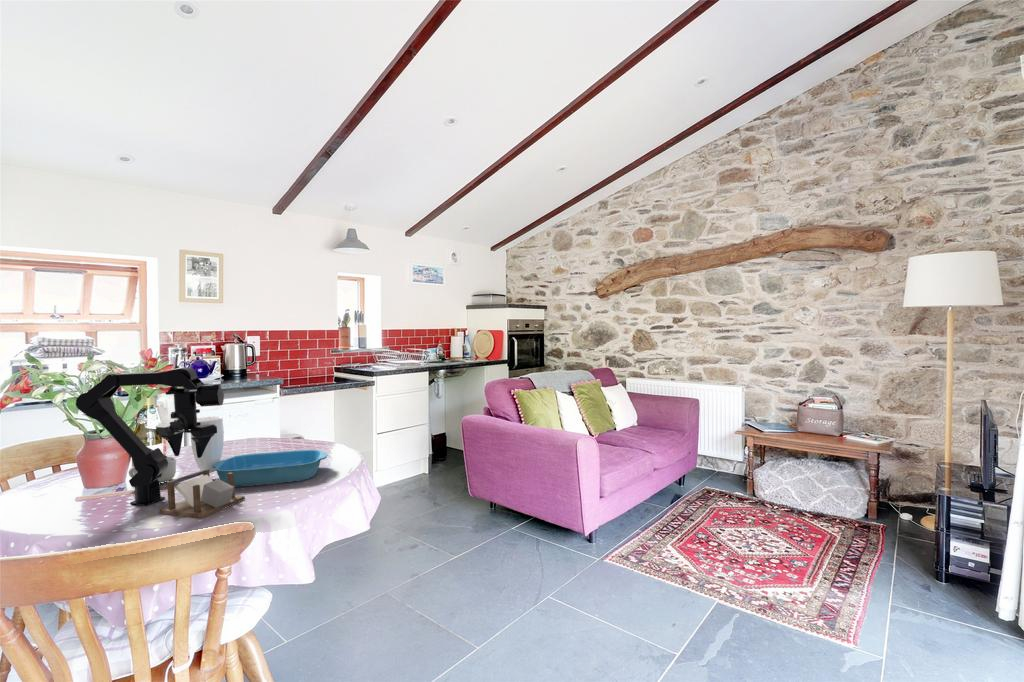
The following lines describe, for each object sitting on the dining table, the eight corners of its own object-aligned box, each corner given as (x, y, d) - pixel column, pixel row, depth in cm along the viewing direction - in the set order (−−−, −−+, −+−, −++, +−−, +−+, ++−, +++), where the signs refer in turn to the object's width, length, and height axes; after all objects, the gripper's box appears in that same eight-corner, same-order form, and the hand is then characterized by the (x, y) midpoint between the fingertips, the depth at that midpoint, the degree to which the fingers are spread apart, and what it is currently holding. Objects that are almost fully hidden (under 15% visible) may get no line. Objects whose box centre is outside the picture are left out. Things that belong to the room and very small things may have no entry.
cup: (188, 480, 176) (185, 419, 175) (221, 473, 183) (219, 414, 182) (196, 486, 168) (192, 423, 167) (230, 479, 175) (227, 418, 174)
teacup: (171, 475, 181) (170, 454, 181) (182, 481, 174) (180, 458, 174) (124, 486, 170) (122, 463, 170) (133, 492, 164) (132, 468, 163)
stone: (204, 484, 145) (219, 492, 144) (218, 479, 150) (233, 486, 149) (200, 500, 146) (216, 508, 145) (215, 494, 151) (230, 501, 149)
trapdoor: (175, 487, 145) (177, 484, 145) (205, 477, 155) (207, 474, 155) (192, 507, 144) (194, 504, 144) (221, 495, 154) (223, 492, 153)
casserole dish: (330, 464, 192) (330, 445, 191) (325, 481, 170) (324, 461, 170) (224, 474, 182) (223, 455, 182) (203, 494, 161) (202, 472, 160)
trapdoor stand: (159, 513, 144) (157, 482, 144) (204, 495, 159) (203, 467, 158) (202, 518, 140) (200, 486, 139) (244, 499, 154) (243, 470, 154)
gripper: (137, 411, 151) (140, 462, 152) (184, 413, 146) (187, 465, 146) (172, 405, 162) (174, 452, 162) (217, 406, 156) (219, 455, 157)
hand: (188, 456), depth 157 cm, fingers open, 9 cm apart
